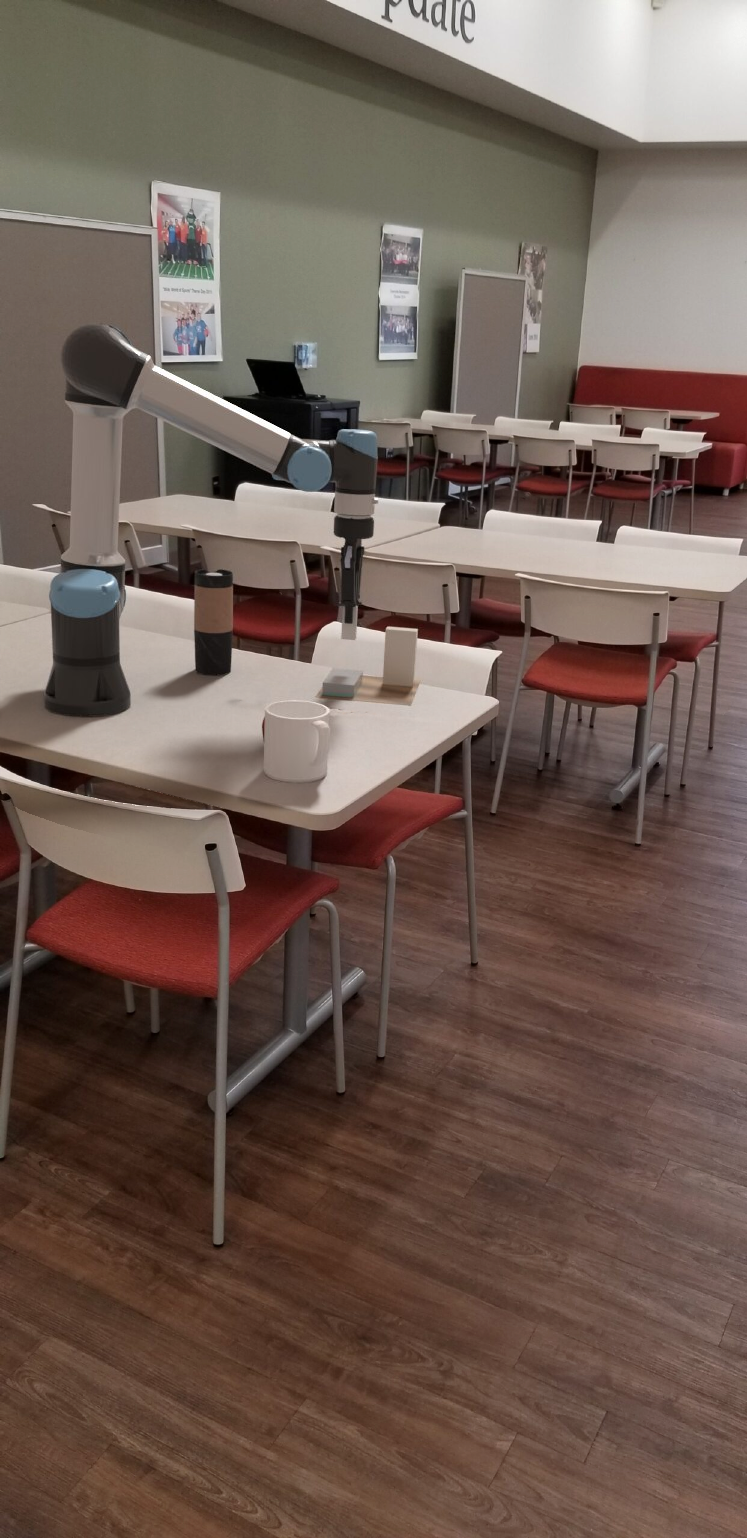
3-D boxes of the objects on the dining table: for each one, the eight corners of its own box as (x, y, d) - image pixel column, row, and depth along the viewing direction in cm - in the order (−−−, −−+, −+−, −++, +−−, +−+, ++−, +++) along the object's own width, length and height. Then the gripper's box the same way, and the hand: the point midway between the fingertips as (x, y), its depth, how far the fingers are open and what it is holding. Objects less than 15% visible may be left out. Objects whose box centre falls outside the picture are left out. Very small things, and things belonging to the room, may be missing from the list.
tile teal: (362, 682, 234) (353, 697, 224) (332, 679, 235) (322, 694, 225) (362, 670, 233) (354, 685, 223) (332, 667, 234) (322, 682, 224)
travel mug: (216, 677, 236) (216, 577, 230) (186, 670, 240) (186, 571, 233) (239, 670, 243) (241, 572, 236) (210, 663, 246) (210, 567, 240)
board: (410, 711, 222) (410, 705, 221) (315, 702, 224) (315, 696, 223) (420, 686, 238) (420, 680, 238) (331, 678, 240) (331, 672, 240)
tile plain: (412, 686, 233) (416, 631, 230) (382, 684, 234) (385, 629, 230) (414, 683, 235) (417, 628, 232) (384, 680, 236) (387, 626, 232)
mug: (251, 768, 188) (252, 706, 185) (302, 757, 194) (304, 696, 191) (297, 792, 179) (300, 727, 176) (350, 780, 185) (353, 717, 182)
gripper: (369, 521, 217) (362, 648, 225) (378, 512, 229) (372, 632, 237) (328, 518, 217) (323, 644, 225) (340, 509, 230) (335, 629, 238)
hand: (348, 638), depth 231 cm, fingers closed
